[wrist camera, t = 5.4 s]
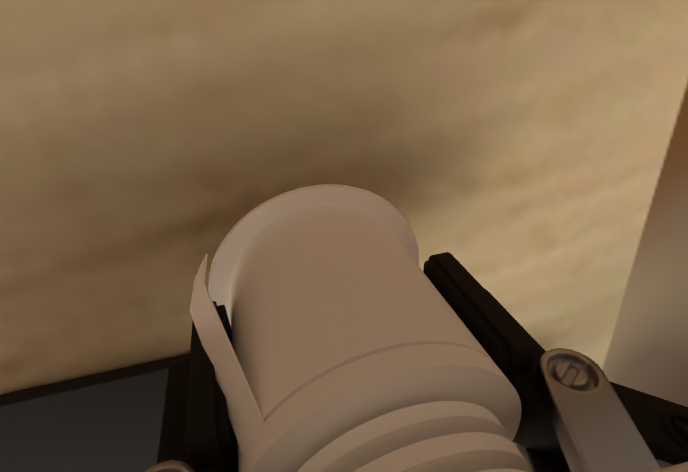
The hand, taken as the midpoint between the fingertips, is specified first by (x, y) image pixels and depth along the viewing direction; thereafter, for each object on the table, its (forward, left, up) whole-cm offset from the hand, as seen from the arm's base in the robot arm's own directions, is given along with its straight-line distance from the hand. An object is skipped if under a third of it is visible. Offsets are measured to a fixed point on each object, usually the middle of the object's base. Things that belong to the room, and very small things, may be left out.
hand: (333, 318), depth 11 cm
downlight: (0, 0, -2) cm, 2 cm away
